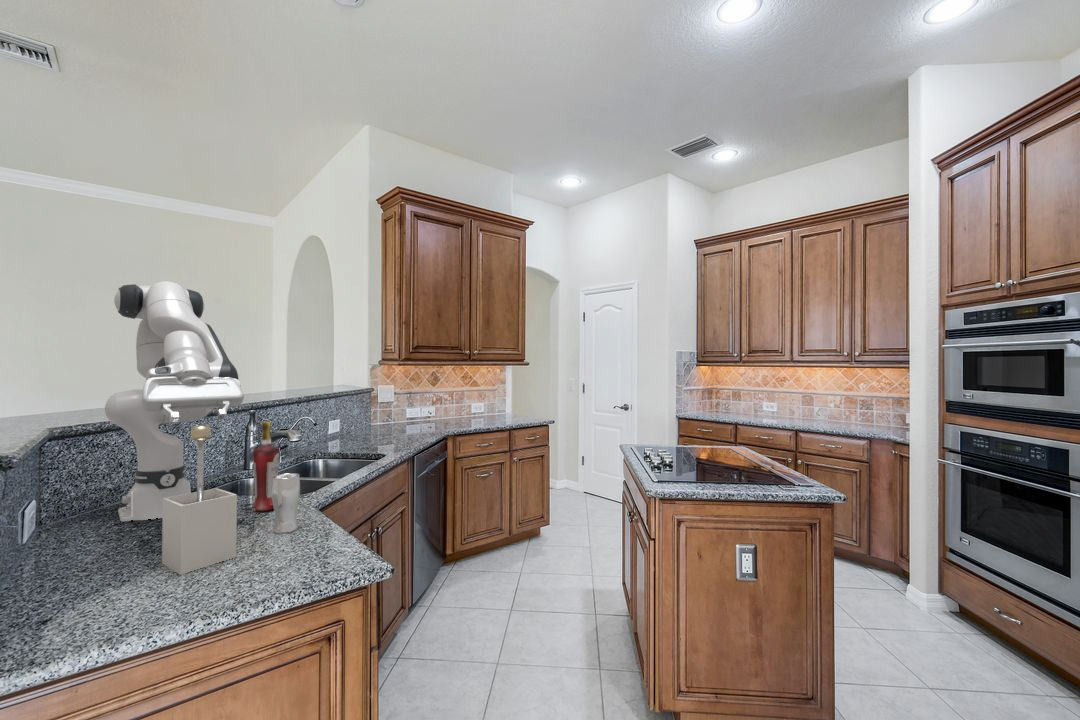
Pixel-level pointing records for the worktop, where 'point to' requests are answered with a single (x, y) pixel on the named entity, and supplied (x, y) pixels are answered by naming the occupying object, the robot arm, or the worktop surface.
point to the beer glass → (285, 501)
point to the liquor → (265, 470)
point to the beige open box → (199, 530)
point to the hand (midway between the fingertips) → (199, 418)
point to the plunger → (200, 456)
